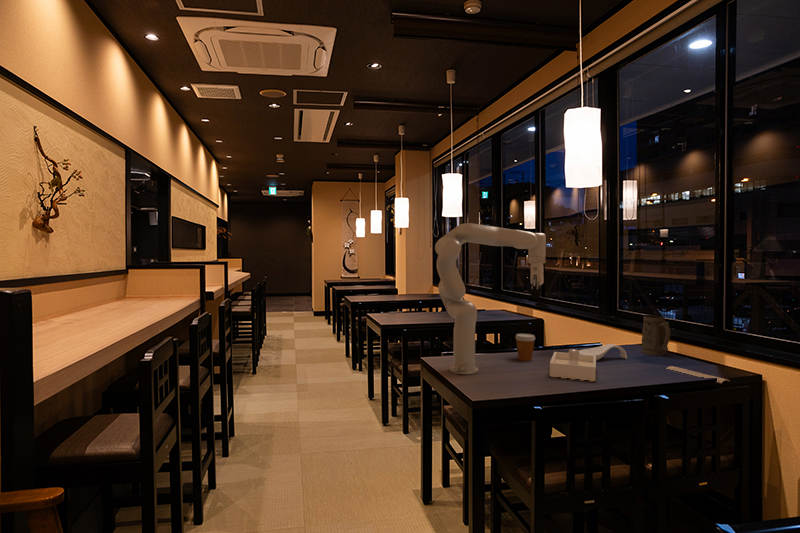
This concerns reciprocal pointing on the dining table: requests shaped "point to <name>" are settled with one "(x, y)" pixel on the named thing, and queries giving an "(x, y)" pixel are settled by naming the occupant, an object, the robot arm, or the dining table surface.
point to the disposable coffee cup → (525, 346)
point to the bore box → (573, 367)
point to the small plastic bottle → (573, 356)
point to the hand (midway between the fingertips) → (536, 296)
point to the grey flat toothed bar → (696, 373)
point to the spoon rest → (602, 351)
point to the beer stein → (655, 335)
